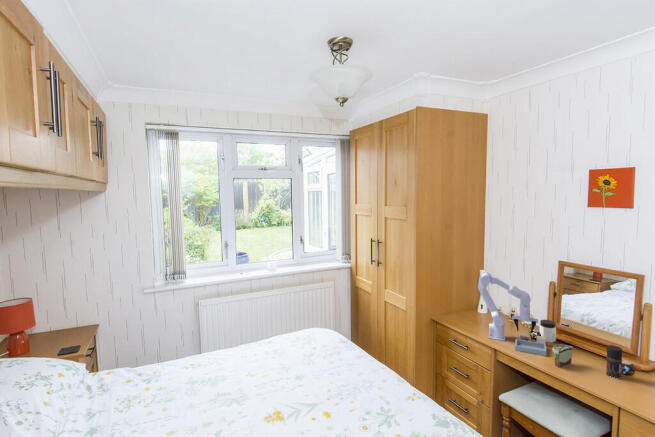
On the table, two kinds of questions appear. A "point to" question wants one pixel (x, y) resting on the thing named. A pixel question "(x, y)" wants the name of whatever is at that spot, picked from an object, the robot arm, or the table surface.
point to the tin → (524, 336)
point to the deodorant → (614, 361)
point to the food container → (562, 355)
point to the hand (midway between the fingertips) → (524, 331)
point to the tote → (530, 347)
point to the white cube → (541, 339)
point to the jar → (548, 330)
